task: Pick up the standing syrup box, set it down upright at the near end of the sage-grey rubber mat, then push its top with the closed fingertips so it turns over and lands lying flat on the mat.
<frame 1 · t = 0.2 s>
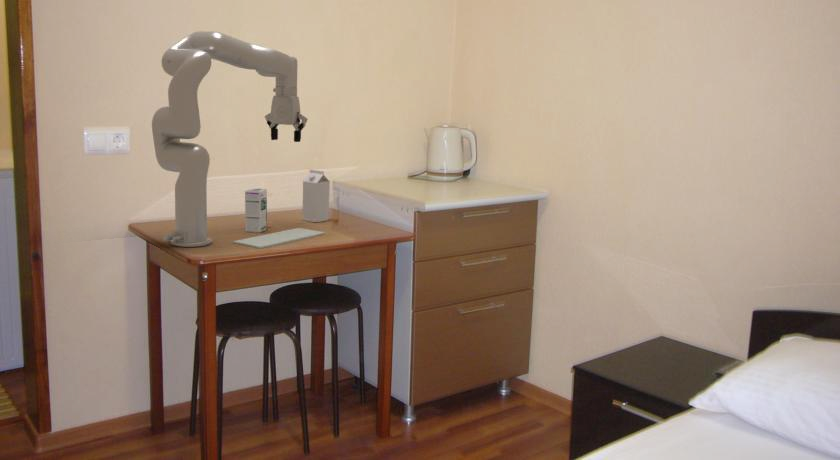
hand: (285, 140, 276), 31 cm above the table, tool pointing down, fingers open, 9 cm apart
milk carton: (315, 221, 293), on the table
syrup box: (256, 231, 269), on the table
mat: (280, 238, 258), on the table
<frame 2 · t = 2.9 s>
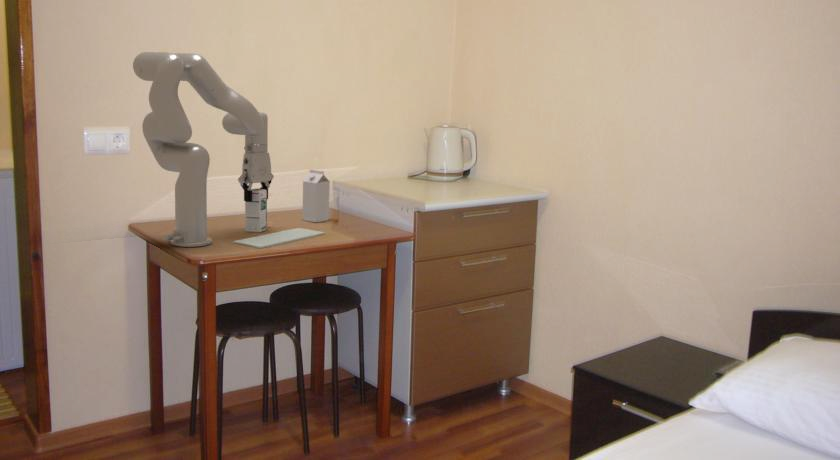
hand: (256, 199, 267), 11 cm above the table, tool pointing down, fingers closed on syrup box, 7 cm apart
syrup box: (256, 231, 269), on the table, touching gripper
everything else where it was.
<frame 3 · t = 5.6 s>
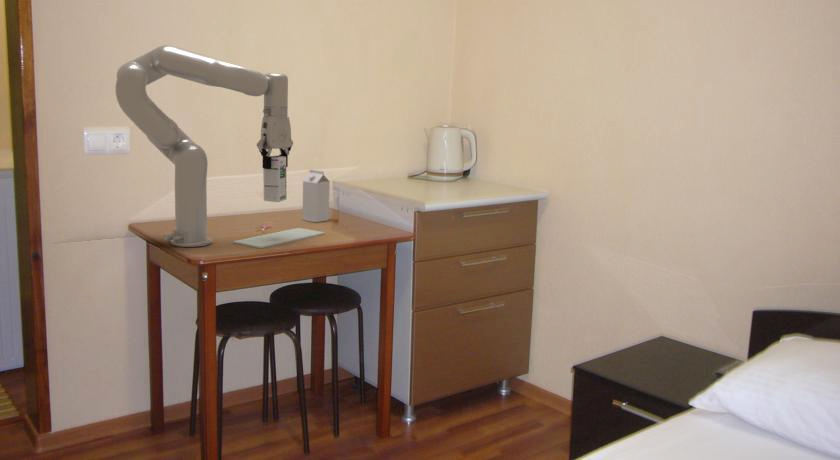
hand: (275, 167, 251), 24 cm above the table, tool pointing down, fingers closed on syrup box, 7 cm apart
syrup box: (274, 201, 253), point 13 cm above the table, touching gripper
everything else where it was.
when the fingers open (12 cm above the table, at t = 8.2 s): syrup box stays where it is, resting on mat.
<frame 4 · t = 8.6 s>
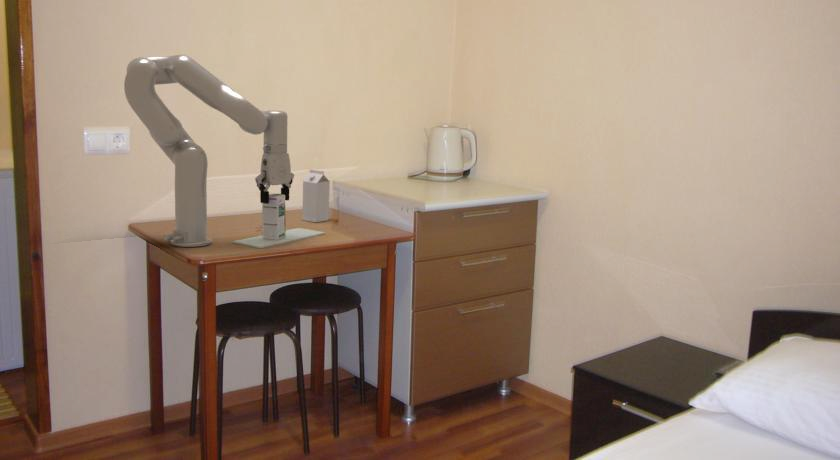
hand: (274, 201, 253), 13 cm above the table, tool pointing down, fingers open, 9 cm apart
syrup box: (273, 238, 255), resting on mat
everything else where it was.
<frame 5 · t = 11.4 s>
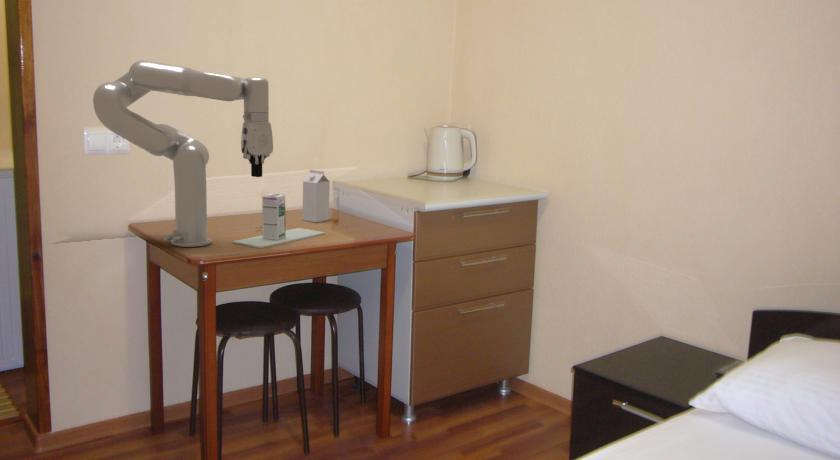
hand: (256, 176, 244), 22 cm above the table, tool pointing down, fingers closed
nothing on the table moved.
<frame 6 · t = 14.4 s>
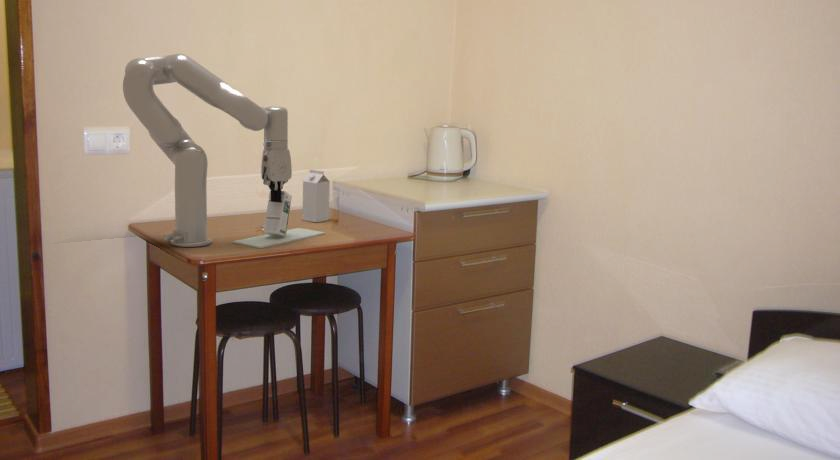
hand: (276, 201, 253), 13 cm above the table, tool pointing down, fingers closed
syrup box: (274, 235, 255), point 1 cm above the table, touching mat
everything else where it was.
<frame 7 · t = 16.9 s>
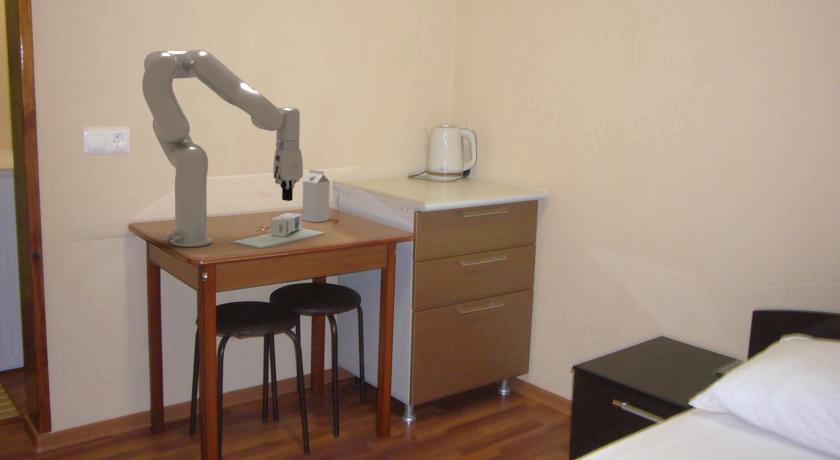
hand: (287, 200, 258), 13 cm above the table, tool pointing down, fingers closed
syrup box: (277, 228, 257), point 3 cm above the table, touching mat
everything else where it was.
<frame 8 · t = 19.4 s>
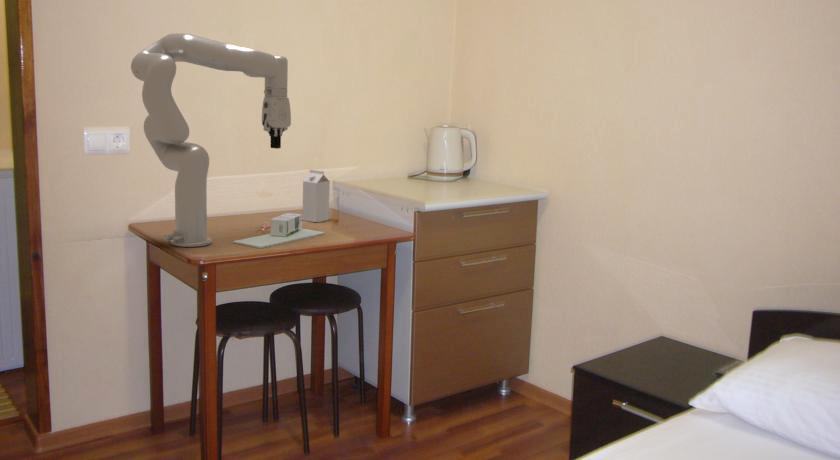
hand: (275, 148, 263), 29 cm above the table, tool pointing down, fingers closed
nothing on the table moved.
at the end: syrup box tilted 90°; syrup box inside the target area on the mat (4.8 cm from its centre), point 3.5 cm above the mat's base; the gripper is holding nothing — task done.
